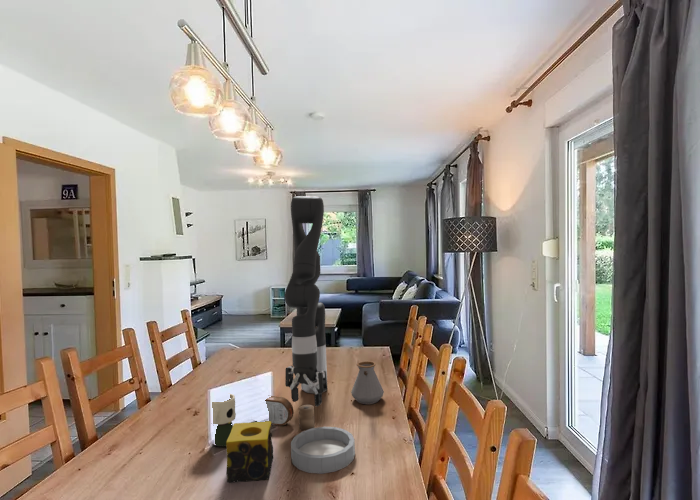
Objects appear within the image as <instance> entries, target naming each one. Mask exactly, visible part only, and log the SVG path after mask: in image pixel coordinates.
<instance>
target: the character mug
mask: <svg viewBox="0 0 700 500" xmlns="http://www.w3.org/2000/svg"><path fill="white" fill-rule="evenodd" d="M229 394H230V398H231V399H229V400H227V401H224V402H212V408H213V424H212V425H214V424H218V426H217V429H216V434H215V444H216V445H217V447H226V442H227V439H228V437H229V435H230V433H231V430H232V427H233V425H234V423H233V421H235V419H236V416H237V414H236V397H235V394H233V393H229ZM231 424H232V425H231Z"/></svg>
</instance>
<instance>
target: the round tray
mask: <svg viewBox="0 0 700 500" xmlns="http://www.w3.org/2000/svg"><path fill="white" fill-rule="evenodd" d="M355 446H356V443H355V438H354V435H353V434H352V433H351V432H349V431H348V430H347V429H344V428H341V427H336V426H319V427H317V426H316V427H314V428H312V429H309V430H306V431H301V432H299V433H298V434H296V435H294V437H293V439H292V440H291V441H290V453H291V457H290V458H291V463H292V465H293V466H294V467H296V468H297V469H298V470H299V471H303V472H305V473H309V474H328V473H333V472H337V471H339V470H342V469H344V468H347V467H348V465H350V464H351V463H352V462H353V461H354V459H355V455H356V447H355Z"/></svg>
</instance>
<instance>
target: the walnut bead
mask: <svg viewBox="0 0 700 500" xmlns="http://www.w3.org/2000/svg"><path fill="white" fill-rule="evenodd" d="M298 422H299V423H298V426H299V427H298V428H299V430H300V431H301V432H303V431H306V430H309V429H312V428H316V427H315V426H316V425H315V405H312V404H303V405H300V406H299V407H298Z"/></svg>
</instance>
